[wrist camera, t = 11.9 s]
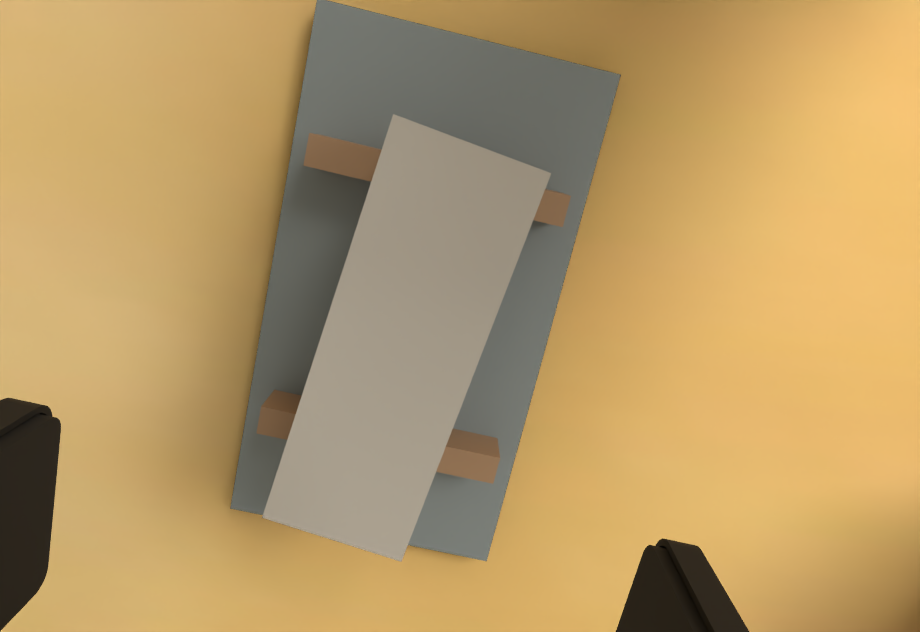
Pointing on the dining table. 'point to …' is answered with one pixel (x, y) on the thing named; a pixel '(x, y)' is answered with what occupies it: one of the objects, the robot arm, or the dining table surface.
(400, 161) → the light grey block
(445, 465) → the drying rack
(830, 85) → the dining table surface
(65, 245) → the dining table surface
